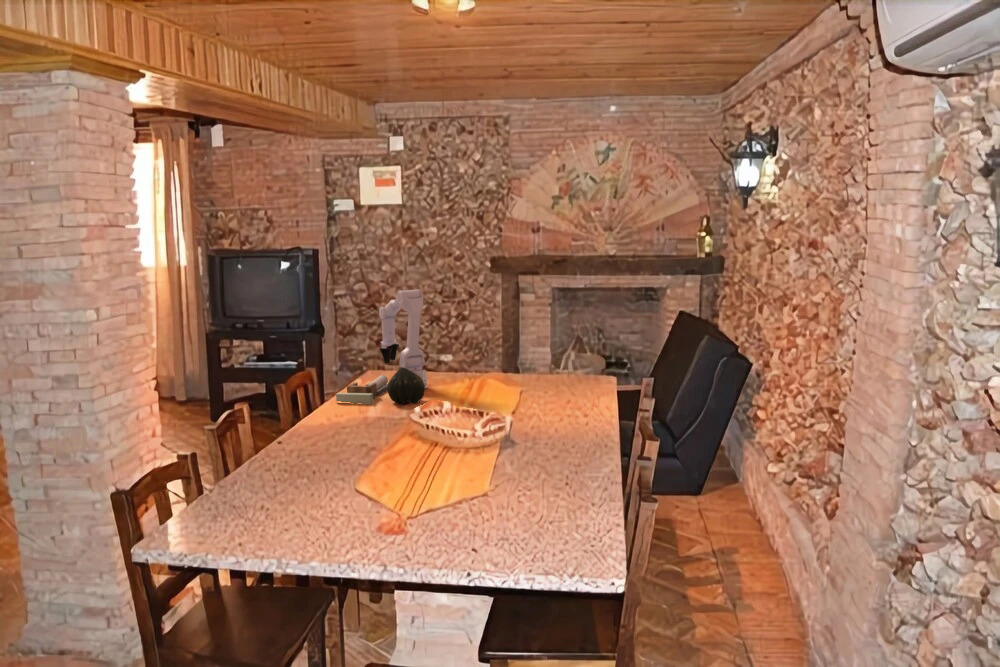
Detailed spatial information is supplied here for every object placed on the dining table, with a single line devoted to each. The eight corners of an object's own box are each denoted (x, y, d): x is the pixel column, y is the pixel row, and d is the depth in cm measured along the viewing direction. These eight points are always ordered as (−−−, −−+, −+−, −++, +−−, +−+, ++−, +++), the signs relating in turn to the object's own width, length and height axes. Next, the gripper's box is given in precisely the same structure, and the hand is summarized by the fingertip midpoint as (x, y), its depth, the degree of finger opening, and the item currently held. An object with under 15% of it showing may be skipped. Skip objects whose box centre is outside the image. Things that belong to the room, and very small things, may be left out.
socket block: (377, 396, 327) (376, 382, 326) (370, 401, 319) (369, 387, 318) (355, 396, 329) (354, 382, 328) (347, 400, 321) (346, 386, 320)
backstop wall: (373, 402, 315) (372, 393, 315) (370, 404, 313) (370, 394, 312) (339, 402, 319) (338, 392, 318) (336, 403, 316) (336, 394, 316)
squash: (417, 395, 303) (421, 362, 312) (380, 396, 306) (385, 363, 314) (425, 411, 315) (429, 379, 323) (390, 412, 317) (395, 381, 326)
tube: (376, 375, 353) (361, 386, 328) (386, 371, 352) (372, 382, 327) (380, 386, 353) (365, 398, 329) (391, 382, 353) (377, 394, 328)
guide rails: (397, 384, 351) (397, 379, 351) (378, 396, 327) (378, 391, 327) (376, 383, 353) (375, 379, 353) (355, 395, 330) (355, 391, 329)
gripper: (385, 330, 362) (387, 358, 364) (374, 334, 348) (376, 364, 350) (400, 330, 361) (401, 358, 363) (389, 334, 347) (391, 364, 349)
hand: (390, 361), depth 357 cm, fingers open, 7 cm apart
